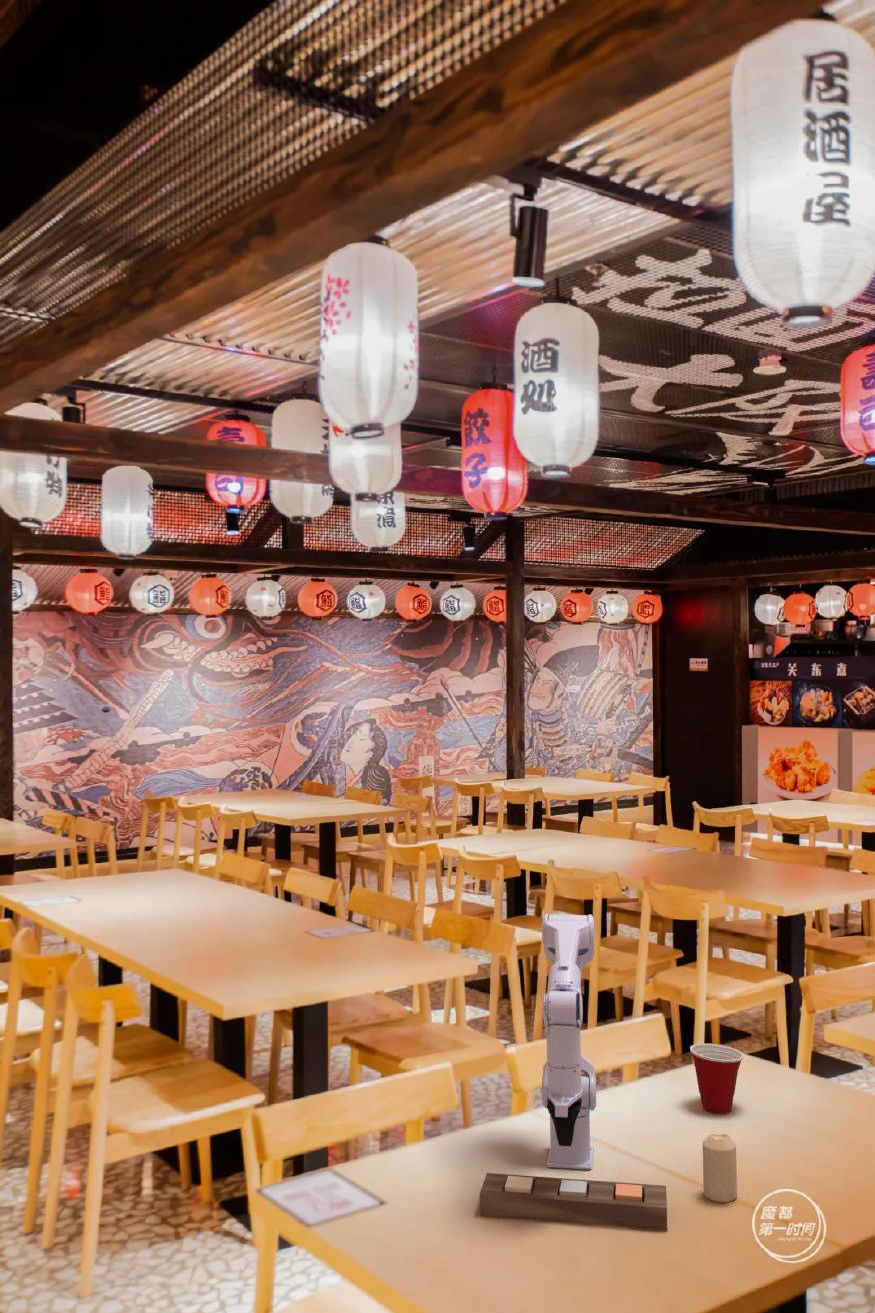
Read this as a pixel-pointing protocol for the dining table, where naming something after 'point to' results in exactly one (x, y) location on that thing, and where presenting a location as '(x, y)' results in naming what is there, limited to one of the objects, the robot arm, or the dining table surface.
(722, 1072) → the plastic cup
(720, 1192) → the candle
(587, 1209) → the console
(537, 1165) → the dining table surface
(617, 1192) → the orange cube
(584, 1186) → the light gray cube
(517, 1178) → the beige cube
